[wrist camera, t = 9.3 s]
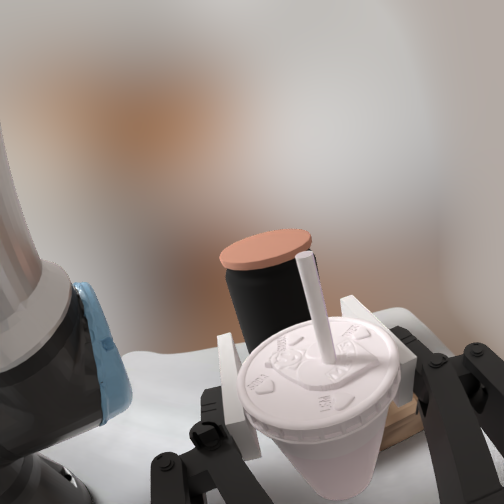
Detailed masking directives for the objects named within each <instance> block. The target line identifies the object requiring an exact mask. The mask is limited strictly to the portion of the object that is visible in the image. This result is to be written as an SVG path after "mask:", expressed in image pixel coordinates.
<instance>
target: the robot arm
mask: <svg viewBox="0 0 504 504" xmlns="http://www.w3.org/2000/svg"><path fill="white" fill-rule="evenodd" d="M340 302H341V309H342V317H352V318H359V319H363V320H366V321H370V322H372V323H374V324H377V325H378V326H380V327H382V328H383V329H385V330H386V331H387V332H388V333H389V334H390V335H391V336H392V337H393V339H394V341H395V342H396V345H397V347H398V351H399V362H400V371H401V380H400V384H399V387H398V390H397V393H396V396H395V398H394V399H393V401H394V403H395V404H396V405H397V407H398V408H399V407H401V406H403V405H405V404H407V403H409V402H411V401H412V398H413V392H414V394H415V395H416V396H417V397H418V400H417V406H416V415H418V411H419V412H420V416H421V420H422V423H423V427H424V431H425V435H426V438H427V442H428V447H429V451H430V455H431V459H432V464H433V468H434V473H435V478H436V483H437V488H438V493H439V499H440V504H504V487H502V486H501V484H500V482H499V478H498V475H497V472H496V469H495V466H494V463H493V460H492V457H491V454H490V451H489V448H488V446H487V443H486V440H485V438H484V435H483V432H482V430H481V428H482V429H483V431H484V432H485V433H486V435H487V436H488V437H489V439H490V440H491V441H492V443H493V444H494V445H495V447H496V448H497V450H498V451H499V452H500V454H501V455H502V456H503V458H504V361H503V360H502V359H501V358H499V357H498V356H497V355H496V354H495V353H494V352H493V351H492V350H491V349H490V348H488V347H487V346H486V345H484V344H482V343H471V344H469V345H467V346H466V347H465V349H464V353H463V354H462V355H459V356H455V357H450V358H448V357H447V356H446V355H444V354H440V353H434V354H433V353H432V352H431V351H430V350H429V349H428V348H427V347H426V346H425V345H423V344H422V343H421V342H420V341H419V340H417V338H416V337H415V336H412V334H411V333H410V332H409V331H408V330H407V329H405V328H402V327H399V326H396V327H394V328H392V329H388V328H387V327H386V326H385V325H384V324H383V323H381V322H380V321H379V320H378V319H377V318H376V317H375V316H374V315H373V314H372V313H371V312H370V311H369V310H368V309H367V308H366V307H365V306H363V305H362V304H361V303H360V302H359V301H358V300H357V299H356V298H355V297H354V296H353V295H350V296H347V297H344V298H341V299H340ZM217 340H218V353H219V365H220V377H221V386H218V387H214V388H210V389H205V390H204V392H203V394H202V396H201V421H199V422H198V423H196V424H195V425H194V426H193V427H192V428H191V430H190V432H189V436H190V439H191V441H192V442H193V444H194V445H195V448H194V449H192V450H190V451H189V452H186V453H184V454H181V455H179V456H178V455H177V454H176V453H173V452H164V453H161V454H159V455H158V456H156V457H155V458H154V459H153V461H152V463H151V504H207V498H206V492H208V491H210V490H212V489H215V488H218V490H219V492H220V494H221V496H222V497H223V499H224V501H225V503H226V504H274V503H273V502H272V500H271V499H270V498H269V496H268V495H267V493H266V492H265V491H264V489H263V488H262V487H261V485H260V484H259V482H258V481H257V480H256V478H255V477H254V475H253V474H252V472H251V471H250V470H249V468H248V467H247V465H246V464H245V462H244V461H248V460H252V459H257V458H261V457H262V456H261V451H260V447H259V442H258V437H257V433H256V429H255V428H254V427H253V426H252V424H251V423H250V422H249V420H248V419H247V418H246V416H245V413H244V408H243V406H242V404H241V402H240V400H239V398H238V395H237V390H236V382H237V376H238V373H239V370H240V368H241V366H242V364H241V361H240V358H239V355H238V353H237V350H236V347H235V344H234V341H233V338H232V335H231V333H227V334H223V335H219V336H217ZM131 402H132V388H131V384H130V381H129V378H128V375H127V373H126V370H125V367H124V364H123V362H122V359H121V357H120V354H119V352H118V349H117V347H116V345H115V344H114V342H113V338H112V335H111V333H110V329H109V326H108V323H107V321H106V318H105V316H104V313H103V311H102V308H101V306H100V304H99V301H98V299H97V296H96V294H95V292H94V290H93V288H92V287H91V285H90V284H88V283H86V282H82V283H74V284H72V283H71V281H70V278H69V276H68V274H67V273H66V272H65V270H64V269H63V268H62V267H61V266H59V265H58V264H56V263H53V262H50V261H46V260H43V259H40V258H39V255H38V253H37V250H36V248H35V245H34V243H33V240H32V238H31V235H30V232H29V229H28V227H27V224H26V221H25V218H24V215H23V212H22V209H21V206H20V203H19V200H18V196H17V193H16V189H15V186H14V183H13V179H12V175H11V171H10V167H9V163H8V159H7V155H6V150H5V146H4V141H3V135H2V130H1V125H0V504H92V499H91V496H90V494H89V492H88V490H87V488H86V487H85V485H84V484H83V483H82V482H81V481H80V480H79V479H78V478H77V477H76V476H75V475H74V474H73V473H72V472H71V471H70V470H68V469H67V468H65V467H64V466H62V465H60V464H58V463H57V462H55V461H53V460H51V459H49V458H47V457H46V456H44V455H42V454H41V453H39V452H38V451H40V450H43V449H45V448H48V447H50V446H53V445H55V444H58V443H60V442H63V441H65V440H68V439H70V438H72V437H75V436H77V435H79V434H82V433H84V432H86V431H89V430H91V429H93V428H95V427H98V426H103V425H105V424H106V423H107V421H108V420H109V419H111V418H113V417H115V416H116V415H118V414H120V413H122V412H123V411H125V410H126V409H127V408H128V407H129V406H130V404H131ZM242 458H243V459H244V461H243V459H242Z"/></svg>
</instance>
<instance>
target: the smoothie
mask: <svg viewBox="0 0 504 504" xmlns="http://www.w3.org/2000/svg"><path fill="white" fill-rule="evenodd" d="M295 258H296V262H297V266H298V269H299V273H300V277H301V281H302V284H303V288H304V292H305V296H306V300H307V304H308V308H309V311H310V315H311V319H312V320H309V321H306V322H302V323H299V324H296V325H293V326H291V327H289V328H286V329H284V330H282V331H280V332H278V333H276V334H274V335H273V336H271V337H270V338H268V339H267V340H265V341H264V342H262V343H261V344H260V345H259V346H258V347H257V348H255V349H254V350H253V351H252V352H251V354H250V355H249V356H248V357H247V358H246V360H245V361H244V363H243V364H242V366H241V368H240V370H239V373H238V376H237V382H236V390H237V395H238V398H239V400H240V402H241V404H242V406H243V408H244V413H245V416H246V418H247V419H248V420H249V422H250V423H251V424H252V426H253V427H254V428H255V429H257V430H258V431H260V432H261V433H263V434H264V435H266V436H267V437H269V438H272V440H273V441H274V442H275V444H276V445H277V446H278V447H279V448H280V450H281V451H282V452H283V453H284V455H285V456H286V457H287V458H288V460H289V461H290V462H291V463H292V465H293V466H294V467H295V468H296V469H297V471H298V472H299V473H300V474H301V475H302V477H303V478H304V479H305V480H306V481H307V483H308V484H309V485H310V486H311V487H312V488H313V490H314V491H315V492H316V493H317V494H318V495H320V496H321V497H323V498H326V499H329V500H345V499H349V498H352V497H354V496H356V495H358V494H359V493H361V492H362V491H363V490H364V489H365V488H366V487H367V486H368V485H369V483H370V481H371V479H372V476H373V472H374V469H375V465H376V461H377V457H378V453H379V449H380V445H381V441H382V437H383V432H384V427H385V423H386V418H387V413H388V408H389V405H390V403H391V402H392V401H393V399H394V398H395V396H396V393H397V390H398V387H399V384H400V380H401V371H400V362H399V351H398V347H397V345H396V342H395V341H394V339H393V337H392V336H391V335H390V334H389V333H388V332H387V331H386V330H385V329H383V328H382V327H380V326H378V325H377V324H374V323H372V322H370V321H366V320H363V319H359V318H352V317H328V315H327V310H326V306H325V301H324V297H323V293H322V288H321V284H320V280H319V276H318V271H317V267H316V263H315V259H314V255H313V252H312V251H304V252H301V253H298V254H297V255H296V256H295Z"/></svg>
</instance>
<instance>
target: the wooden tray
mask: <svg viewBox="0 0 504 504" xmlns="http://www.w3.org/2000/svg"><path fill="white" fill-rule="evenodd" d="M417 400H418V397H417V396H416V395H415V394H414V392H413V398H412V401H411V402H409V403H407V404H405V405H403V406H401V407H399V408H398V407H397V405H396V404H395V403H394V401H392V402H391V403H390V405H389V408H388V413H387V418H386V423H385V427H384V432H383V437H382V441H381V445H380V449H379V452H380V451H382V450H385V449H387V448H389V447H391V446H393V445H395V444H397V443H399V442H401V441H403V440H405V439H407V438H409V437H411V436H413V435H414V434H416V433H418V432H420V431H422V430H423V429H424V427H423V423H422V420H421V416H420V412H419V411H418V415H416V406H417Z"/></svg>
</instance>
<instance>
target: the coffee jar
mask: <svg viewBox="0 0 504 504" xmlns="http://www.w3.org/2000/svg"><path fill="white" fill-rule="evenodd" d="M311 243H312V239H311V235H310V234H309V232H307V231H305V230H302V229H281V230H274V231H268V232H265V233H260V234H257V235H253V236H250V237H247V238H244V239H242V240H240V241H237V242H235V243H233V244H232V245H230V246H228V247H227V248H225V249H224V250H223V251H222V252H221V254H220V261H221V263H222V265H223V266H224V267H225V268H227V271H226V282H227V285H228V289H229V292H230V295H231V298H232V301H233V305H234V308H235V311H236V314H237V317H238V320H239V324H240V327H241V330H242V333H243V336H244V339H245V342H246V346H247V349H248V352H249V355H250V354H251V352H252V351H253V350H254V349H255V348H257V347H258V346H259V345H260V344H261V343H262V342H264V341H265V340H267V339H268V338H270V337H271V336H273V335H274V334H276V333H278V332H280V331H282V330H284V329H286V328H289V327H291V326H293V325H296V324H299V323H302V322H306V321H309V320H312V319H311V315H310V311H309V308H308V304H307V300H306V296H305V292H304V288H303V284H302V281H301V277H300V273H299V269H298V266H297V262H296V258H295V256H296V255H297V254H298V253H301V252H304V251H311V250H310V249H309V248H310V246H311ZM313 255H314V254H313ZM314 259H315V263H316V267H317V262H316V257H315V255H314ZM317 271H318V268H317ZM318 276H319V274H318ZM319 280H320V279H319Z"/></svg>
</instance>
